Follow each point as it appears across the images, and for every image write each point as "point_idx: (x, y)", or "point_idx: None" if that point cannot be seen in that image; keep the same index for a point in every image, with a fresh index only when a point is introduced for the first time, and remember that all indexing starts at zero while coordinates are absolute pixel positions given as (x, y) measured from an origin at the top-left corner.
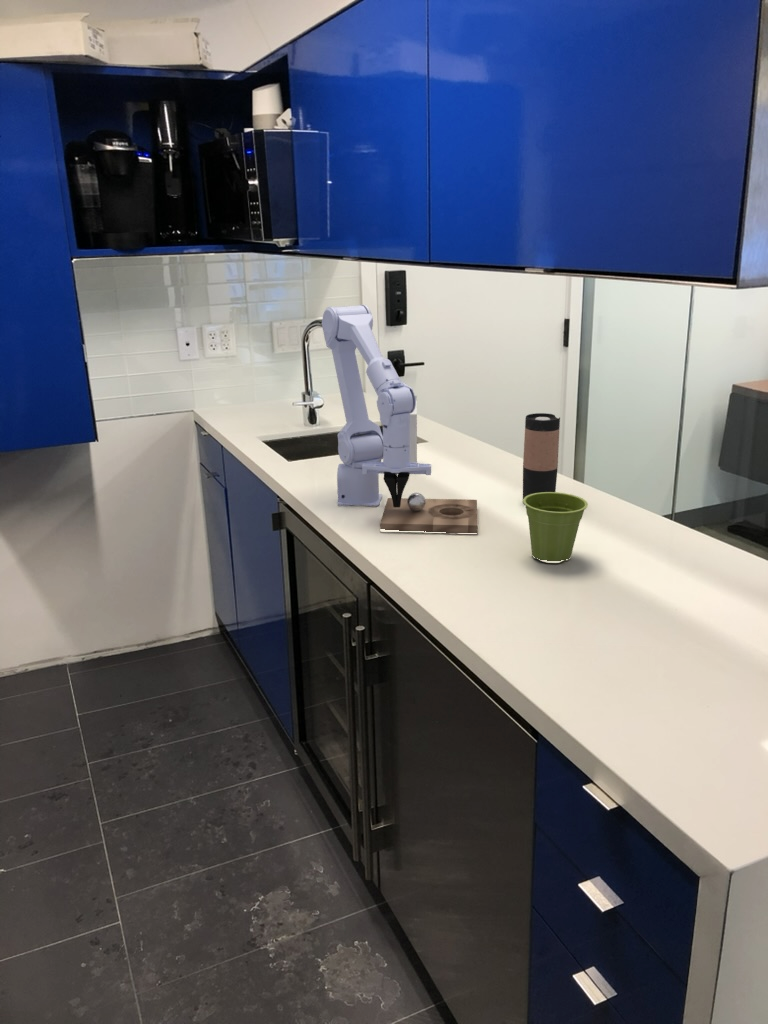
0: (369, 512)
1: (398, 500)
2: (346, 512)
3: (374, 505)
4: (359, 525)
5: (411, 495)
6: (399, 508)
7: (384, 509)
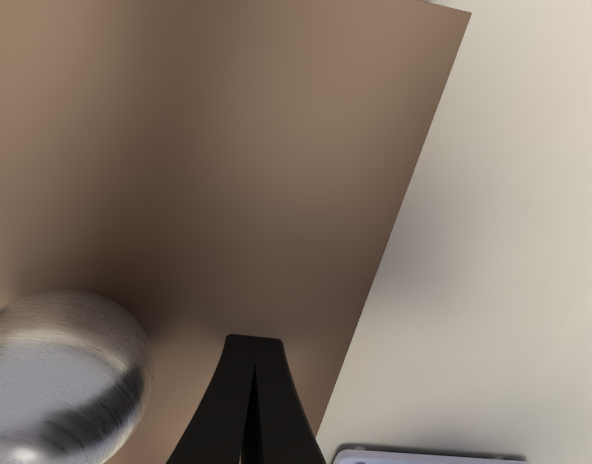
0: (402, 390)
1: (232, 382)
2: (521, 395)
3: (361, 452)
4: (534, 205)
5: (71, 443)
6: None
7: (343, 356)
